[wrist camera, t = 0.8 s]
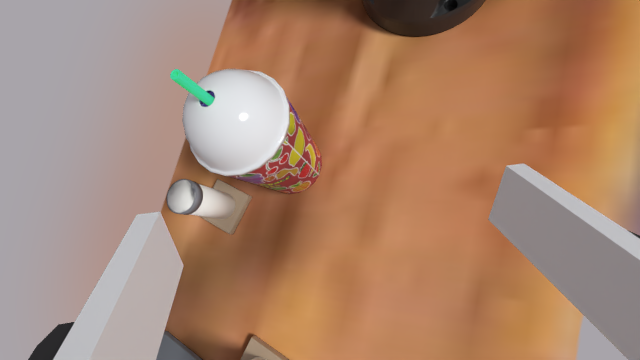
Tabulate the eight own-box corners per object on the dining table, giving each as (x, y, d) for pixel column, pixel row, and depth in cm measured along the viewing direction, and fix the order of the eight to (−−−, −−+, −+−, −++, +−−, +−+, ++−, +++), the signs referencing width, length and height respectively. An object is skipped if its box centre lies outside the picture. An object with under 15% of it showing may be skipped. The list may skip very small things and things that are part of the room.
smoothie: (256, 193, 36) (92, 133, 17) (275, 129, 37) (144, 4, 18) (320, 210, 33) (214, 161, 14) (339, 140, 34) (264, 10, 15)
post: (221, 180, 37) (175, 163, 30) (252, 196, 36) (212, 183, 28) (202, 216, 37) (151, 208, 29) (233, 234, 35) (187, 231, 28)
